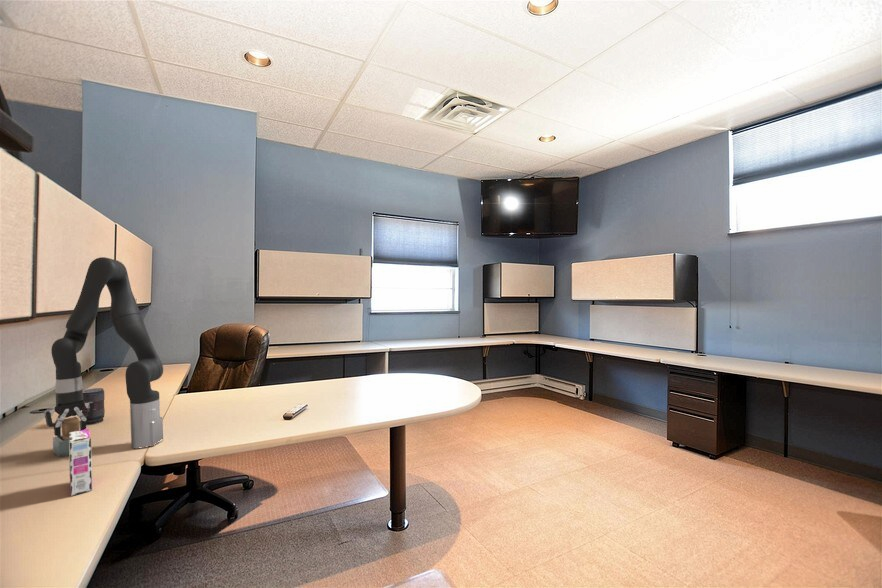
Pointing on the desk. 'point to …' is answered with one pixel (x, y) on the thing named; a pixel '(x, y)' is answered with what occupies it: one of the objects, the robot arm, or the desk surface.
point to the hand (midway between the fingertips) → (70, 433)
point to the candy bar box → (80, 462)
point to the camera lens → (98, 400)
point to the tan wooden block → (69, 427)
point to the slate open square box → (60, 446)
